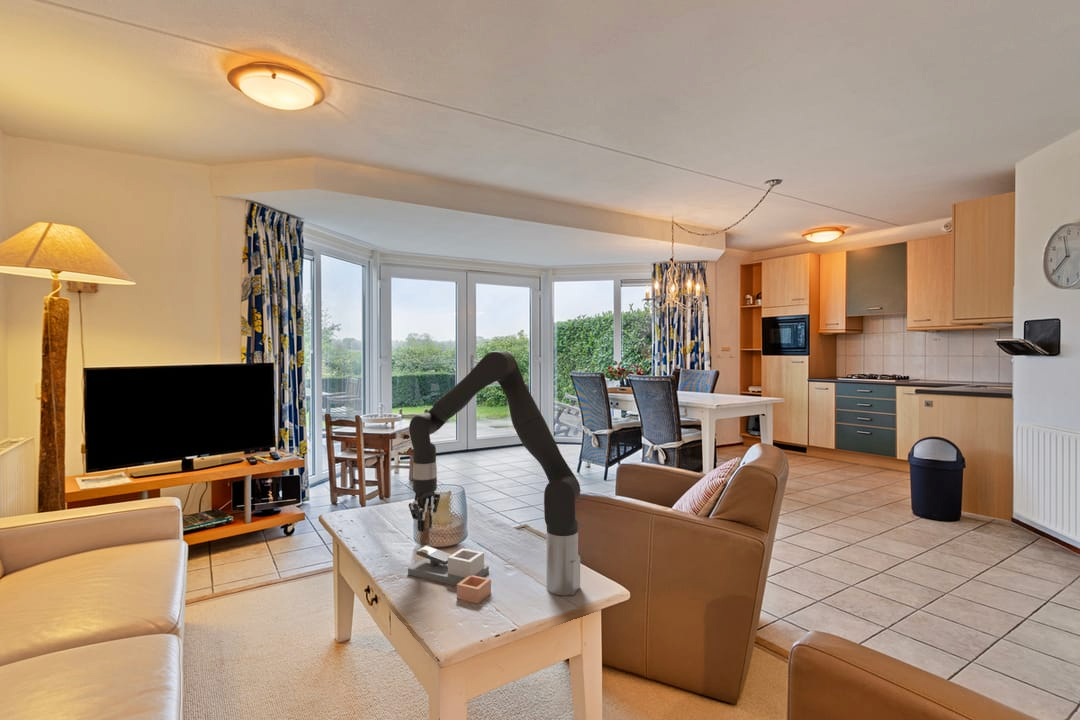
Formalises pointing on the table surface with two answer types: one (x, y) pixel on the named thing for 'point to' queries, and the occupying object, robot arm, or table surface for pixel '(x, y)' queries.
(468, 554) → the grey base slab
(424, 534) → the brown rectangular block
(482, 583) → the holder
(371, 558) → the table surface
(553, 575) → the robot arm
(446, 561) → the rocker switch
